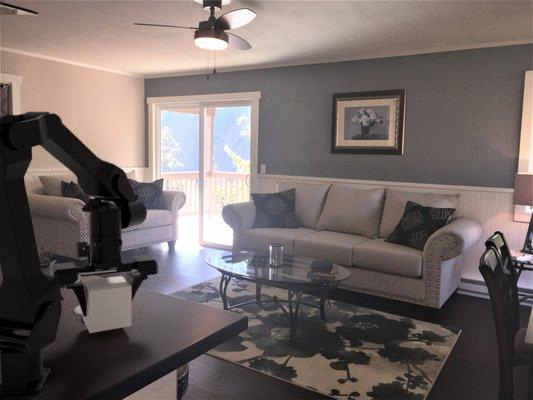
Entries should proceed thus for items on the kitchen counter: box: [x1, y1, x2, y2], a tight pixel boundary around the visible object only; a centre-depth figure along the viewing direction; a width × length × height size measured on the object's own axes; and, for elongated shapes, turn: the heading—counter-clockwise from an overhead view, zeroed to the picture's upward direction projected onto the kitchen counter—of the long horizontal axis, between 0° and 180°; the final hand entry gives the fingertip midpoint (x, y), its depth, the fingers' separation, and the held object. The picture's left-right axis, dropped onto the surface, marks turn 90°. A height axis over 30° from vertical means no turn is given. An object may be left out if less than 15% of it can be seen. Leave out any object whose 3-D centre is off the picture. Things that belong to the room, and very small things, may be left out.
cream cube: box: [81, 275, 132, 334], centre depth 84 cm, size 8×8×8 cm
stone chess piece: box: [37, 243, 53, 276], centre depth 105 cm, size 6×6×12 cm
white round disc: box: [73, 305, 83, 316], centre depth 96 cm, size 8×8×1 cm
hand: (106, 312), depth 84 cm, fingers closed on cream cube, 7 cm apart
